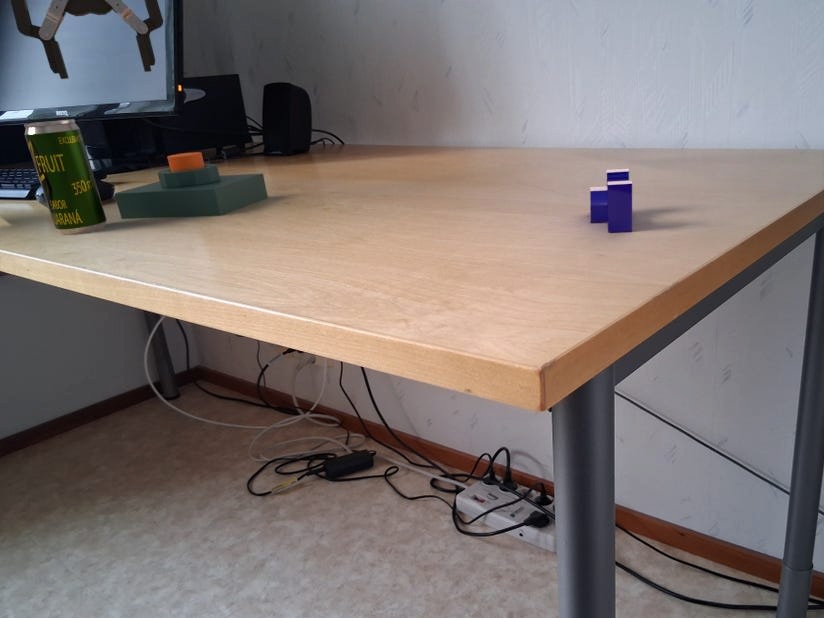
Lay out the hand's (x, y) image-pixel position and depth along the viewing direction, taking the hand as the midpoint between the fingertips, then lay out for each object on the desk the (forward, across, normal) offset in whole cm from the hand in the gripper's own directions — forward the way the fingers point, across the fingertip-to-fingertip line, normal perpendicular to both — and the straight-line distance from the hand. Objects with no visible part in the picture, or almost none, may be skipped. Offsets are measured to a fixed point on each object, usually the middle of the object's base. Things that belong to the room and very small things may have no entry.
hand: (107, 75), depth 78 cm
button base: (+16, -6, -2) cm, 18 cm away
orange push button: (+12, -6, -2) cm, 13 cm away
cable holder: (+17, -38, +42) cm, 59 cm away
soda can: (+16, +7, +1) cm, 18 cm away
